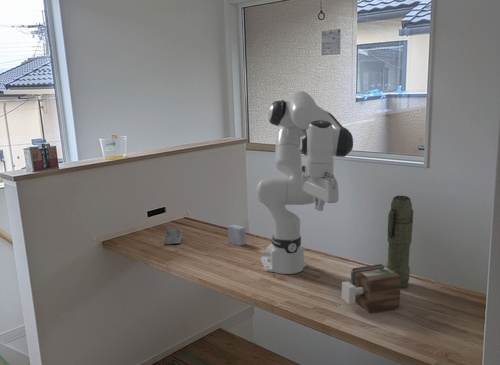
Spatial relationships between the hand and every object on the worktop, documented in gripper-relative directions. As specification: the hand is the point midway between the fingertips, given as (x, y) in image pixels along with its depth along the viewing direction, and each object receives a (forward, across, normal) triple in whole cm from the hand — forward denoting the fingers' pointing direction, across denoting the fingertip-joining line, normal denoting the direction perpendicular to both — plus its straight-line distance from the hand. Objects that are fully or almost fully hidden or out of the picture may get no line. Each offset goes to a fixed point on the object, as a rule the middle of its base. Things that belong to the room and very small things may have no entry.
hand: (319, 209), depth 164 cm
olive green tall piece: (+35, +6, -38) cm, 52 cm away
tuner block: (+35, -6, -20) cm, 41 cm away
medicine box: (+36, +74, +6) cm, 82 cm away
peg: (+32, -6, -16) cm, 36 cm away
